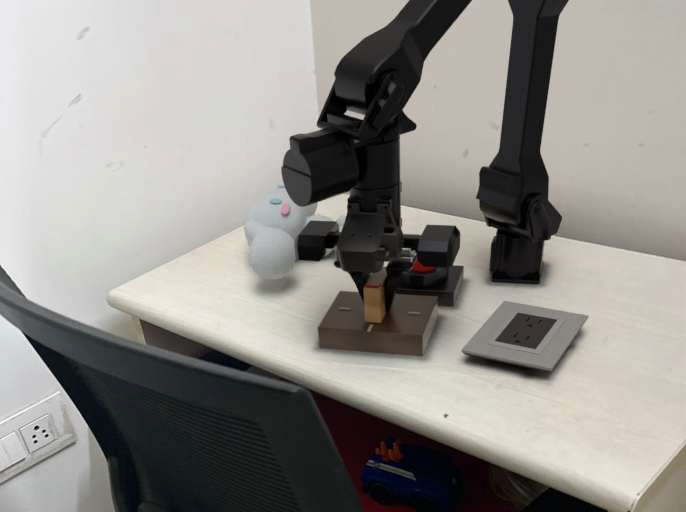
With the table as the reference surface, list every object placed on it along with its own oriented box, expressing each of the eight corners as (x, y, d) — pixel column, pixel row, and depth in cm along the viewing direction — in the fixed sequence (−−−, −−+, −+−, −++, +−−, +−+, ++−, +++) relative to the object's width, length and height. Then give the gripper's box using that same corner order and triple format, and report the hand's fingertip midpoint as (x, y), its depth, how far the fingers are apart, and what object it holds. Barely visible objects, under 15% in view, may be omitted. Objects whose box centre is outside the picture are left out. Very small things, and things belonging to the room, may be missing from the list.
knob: (377, 299, 98) (375, 264, 95) (392, 300, 98) (391, 264, 95) (364, 322, 94) (363, 285, 91) (380, 323, 93) (379, 286, 90)
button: (439, 260, 104) (439, 248, 103) (434, 273, 101) (434, 260, 100) (410, 259, 105) (410, 246, 104) (404, 272, 102) (403, 259, 101)
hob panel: (438, 317, 100) (438, 294, 97) (422, 357, 92) (422, 334, 90) (341, 311, 103) (339, 289, 101) (319, 349, 96) (317, 326, 94)
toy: (341, 259, 102) (237, 208, 100) (310, 323, 108) (212, 277, 106) (361, 191, 126) (276, 149, 123) (334, 247, 132) (254, 207, 130)
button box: (463, 280, 107) (464, 252, 104) (453, 307, 101) (454, 278, 99) (392, 277, 110) (391, 249, 107) (379, 303, 104) (378, 275, 101)
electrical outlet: (549, 384, 86) (551, 366, 84) (461, 365, 90) (461, 347, 89) (585, 331, 94) (588, 313, 92) (502, 315, 98) (504, 298, 97)
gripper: (271, 205, 83) (287, 336, 93) (444, 211, 77) (441, 348, 87) (304, 170, 90) (315, 294, 101) (463, 173, 85) (458, 303, 95)
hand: (378, 309), depth 96 cm, fingers closed
